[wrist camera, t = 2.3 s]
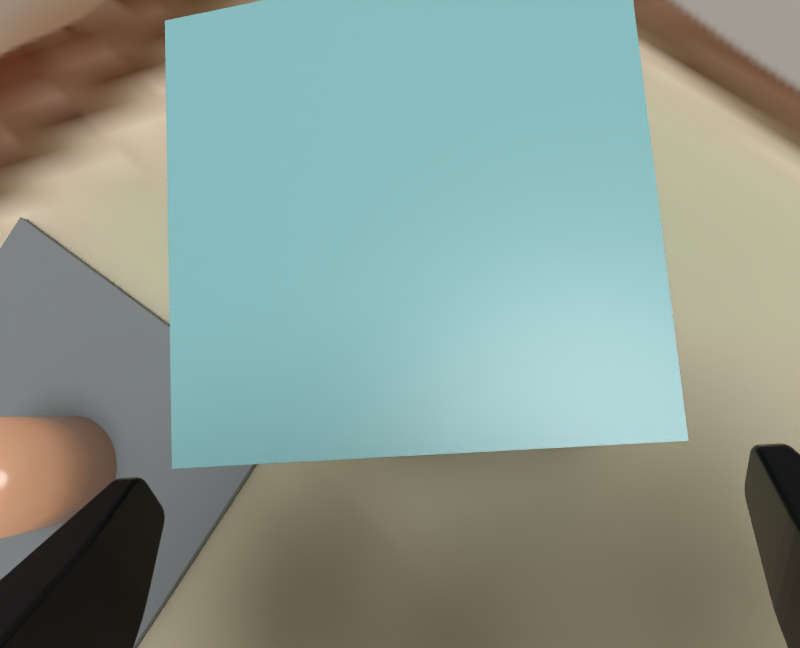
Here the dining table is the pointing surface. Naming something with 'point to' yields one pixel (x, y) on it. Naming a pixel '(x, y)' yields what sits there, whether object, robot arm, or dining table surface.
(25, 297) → the slate mat
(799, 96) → the dining table surface
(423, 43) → the teal rectangular block
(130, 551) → the robot arm
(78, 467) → the peach capsule
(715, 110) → the dining table surface
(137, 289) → the dining table surface
